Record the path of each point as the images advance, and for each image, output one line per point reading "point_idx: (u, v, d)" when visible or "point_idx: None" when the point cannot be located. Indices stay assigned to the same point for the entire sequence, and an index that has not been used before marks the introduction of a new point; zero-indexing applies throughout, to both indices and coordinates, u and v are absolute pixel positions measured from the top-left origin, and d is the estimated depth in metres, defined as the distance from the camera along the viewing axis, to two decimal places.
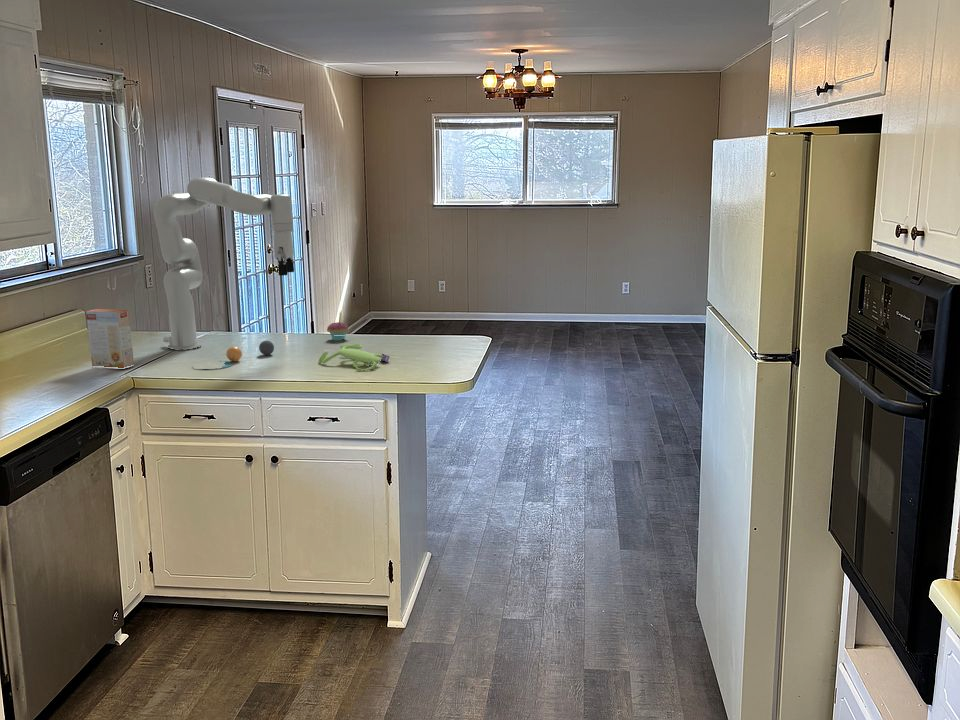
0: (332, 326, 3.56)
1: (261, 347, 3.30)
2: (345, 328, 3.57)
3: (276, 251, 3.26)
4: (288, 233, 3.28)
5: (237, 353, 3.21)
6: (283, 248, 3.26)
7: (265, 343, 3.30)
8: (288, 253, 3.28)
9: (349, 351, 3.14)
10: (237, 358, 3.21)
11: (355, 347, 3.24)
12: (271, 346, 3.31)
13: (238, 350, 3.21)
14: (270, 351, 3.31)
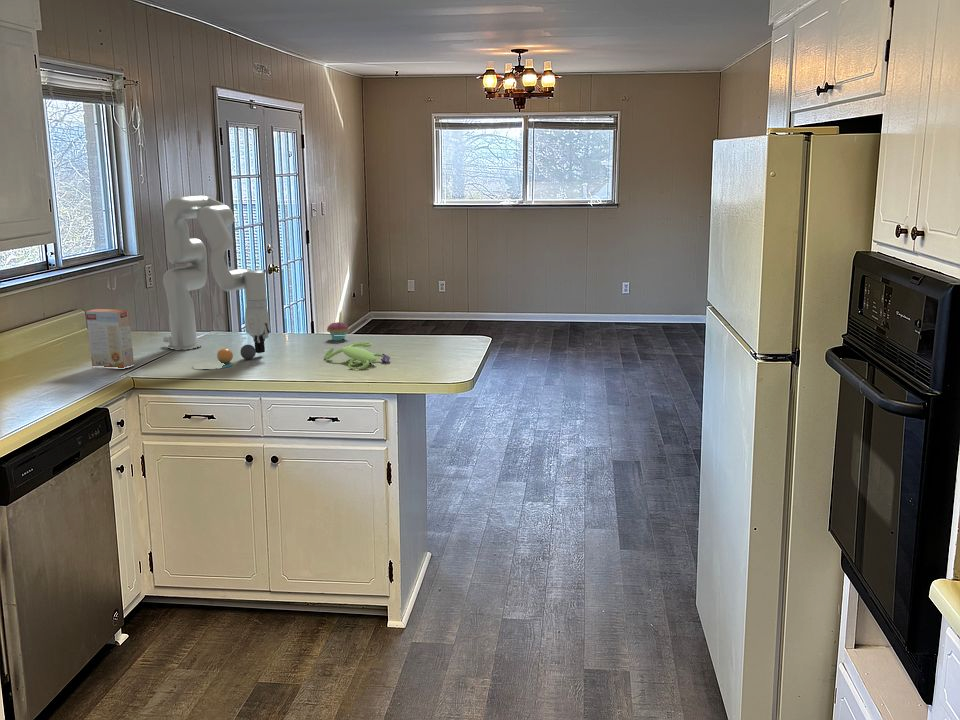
0: (332, 326, 3.56)
1: None
2: (345, 328, 3.57)
3: (261, 328, 3.24)
4: None
5: (227, 357, 3.18)
6: (267, 324, 3.26)
7: (251, 358, 3.26)
8: None
9: (350, 349, 3.18)
10: (231, 357, 3.19)
11: (364, 345, 3.27)
12: (251, 355, 3.24)
13: (224, 354, 3.17)
14: (253, 350, 3.24)
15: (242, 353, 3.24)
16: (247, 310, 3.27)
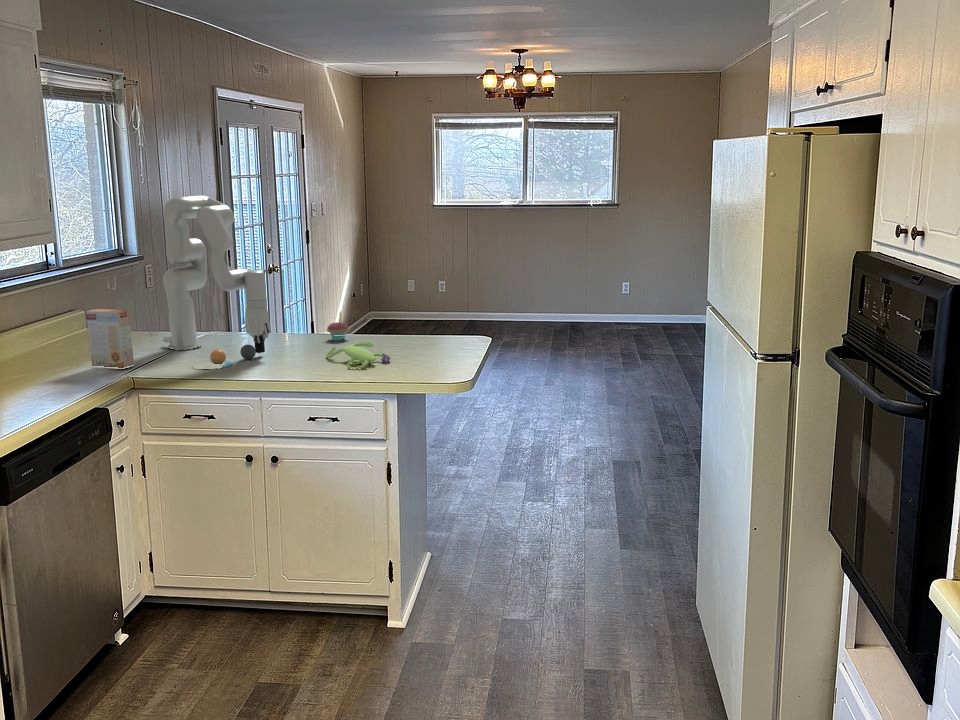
0: (332, 326, 3.56)
1: None
2: (345, 328, 3.57)
3: (261, 328, 3.24)
4: None
5: (221, 359, 3.16)
6: (267, 324, 3.26)
7: (251, 358, 3.26)
8: None
9: (351, 348, 3.18)
10: (223, 355, 3.17)
11: (366, 345, 3.28)
12: (251, 355, 3.24)
13: (217, 360, 3.16)
14: (253, 350, 3.24)
15: (242, 353, 3.24)
16: (247, 310, 3.27)
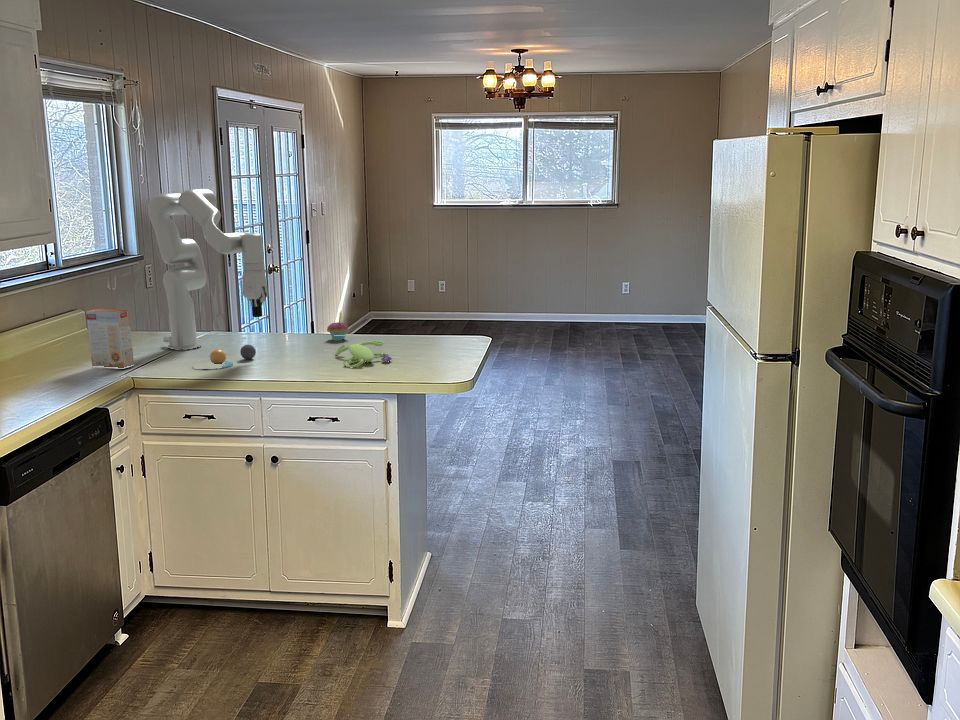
0: (332, 326, 3.56)
1: None
2: (345, 328, 3.57)
3: (259, 291, 3.21)
4: None
5: (221, 359, 3.16)
6: (265, 287, 3.23)
7: (251, 358, 3.26)
8: None
9: (354, 347, 3.21)
10: (223, 355, 3.17)
11: (375, 344, 3.29)
12: (251, 355, 3.24)
13: (217, 360, 3.16)
14: (253, 350, 3.24)
15: (242, 353, 3.24)
16: (244, 273, 3.24)
